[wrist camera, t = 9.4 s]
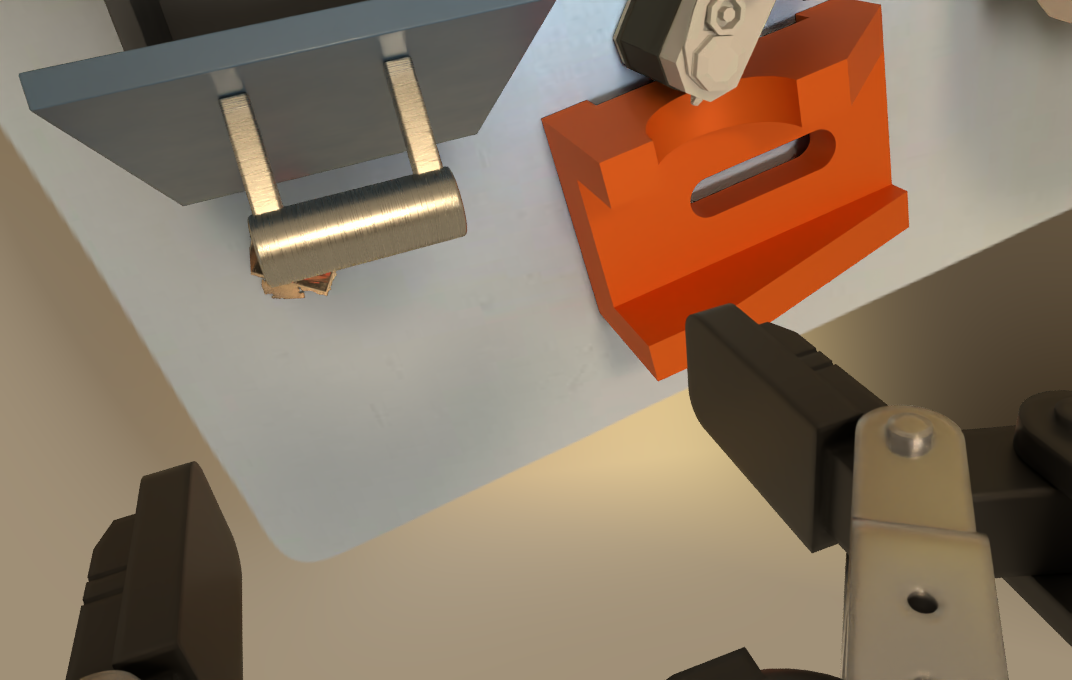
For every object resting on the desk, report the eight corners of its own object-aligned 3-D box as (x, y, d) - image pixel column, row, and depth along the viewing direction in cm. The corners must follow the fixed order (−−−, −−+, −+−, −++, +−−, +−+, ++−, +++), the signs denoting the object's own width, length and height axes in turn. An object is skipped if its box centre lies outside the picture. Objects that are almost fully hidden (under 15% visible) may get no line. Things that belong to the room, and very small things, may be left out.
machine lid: (17, 72, 17) (99, 327, 17) (550, -39, 19) (612, 189, 19) (176, 185, 31) (219, 324, 31) (471, 114, 33) (508, 244, 34)
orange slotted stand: (600, 312, 50) (658, 381, 43) (541, 118, 44) (599, 162, 37) (855, 199, 52) (950, 247, 45) (837, -4, 45) (946, 16, 39)
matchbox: (249, 211, 41) (249, 214, 41) (353, 215, 43) (355, 219, 42) (249, 296, 43) (249, 300, 43) (349, 297, 45) (350, 301, 44)
